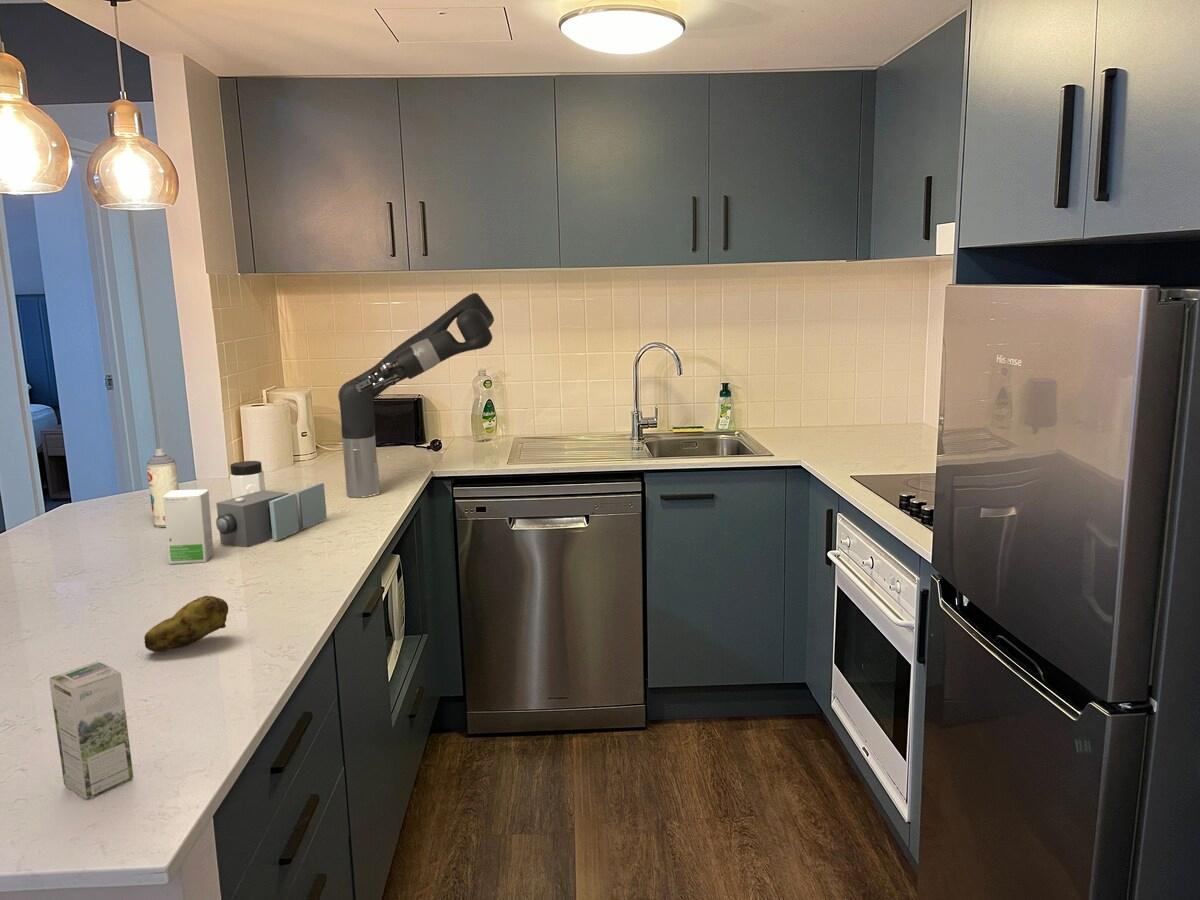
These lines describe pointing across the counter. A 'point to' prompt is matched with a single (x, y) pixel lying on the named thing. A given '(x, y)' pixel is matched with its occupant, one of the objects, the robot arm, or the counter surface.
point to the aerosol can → (161, 483)
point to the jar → (246, 478)
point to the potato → (188, 624)
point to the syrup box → (91, 729)
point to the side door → (297, 510)
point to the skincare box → (188, 526)
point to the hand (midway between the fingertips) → (357, 389)
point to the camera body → (246, 518)
